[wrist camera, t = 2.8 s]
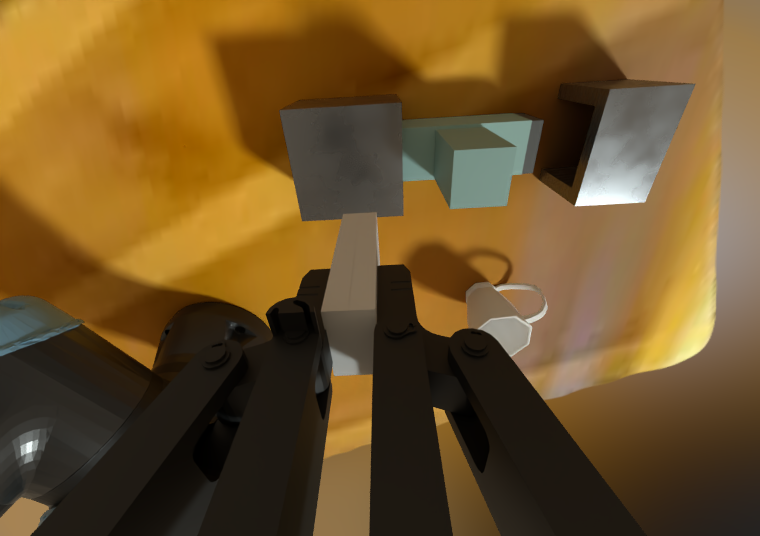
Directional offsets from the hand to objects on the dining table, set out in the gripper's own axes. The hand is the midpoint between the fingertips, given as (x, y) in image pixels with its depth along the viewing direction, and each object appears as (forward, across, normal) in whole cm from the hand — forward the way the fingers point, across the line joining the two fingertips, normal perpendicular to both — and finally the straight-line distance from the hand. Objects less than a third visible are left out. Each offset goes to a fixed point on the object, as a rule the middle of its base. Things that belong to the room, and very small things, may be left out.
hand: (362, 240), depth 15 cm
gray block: (+20, -2, 0) cm, 20 cm away
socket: (+20, +21, 0) cm, 29 cm away
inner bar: (+20, +4, 0) cm, 20 cm away
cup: (+20, +15, -19) cm, 31 cm away
